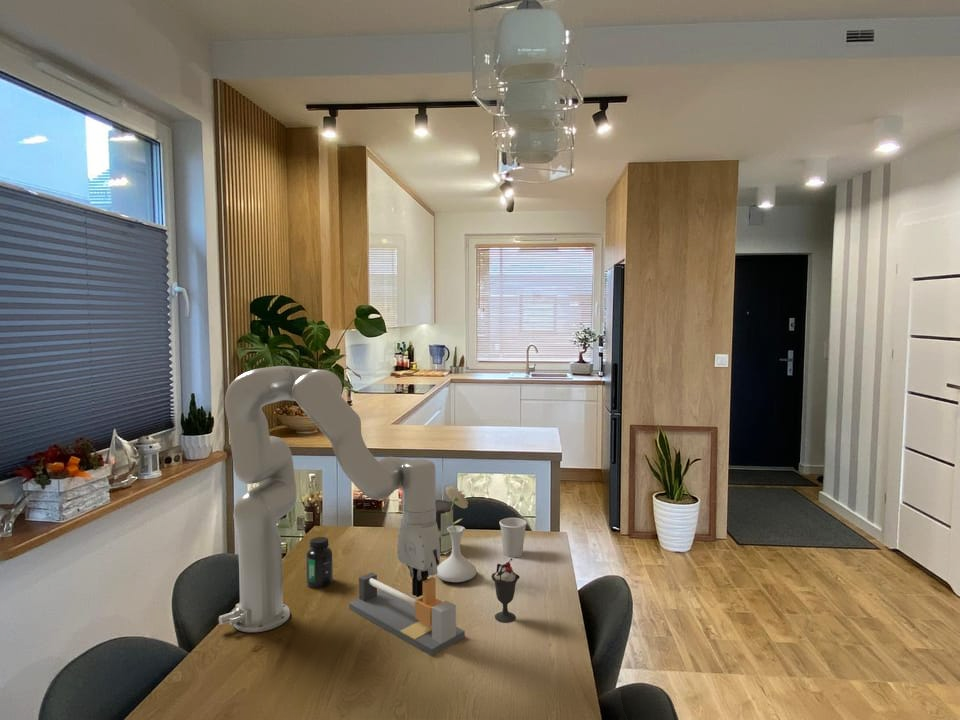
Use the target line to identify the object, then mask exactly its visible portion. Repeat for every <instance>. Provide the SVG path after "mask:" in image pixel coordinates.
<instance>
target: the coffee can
mask: <svg viewBox="0 0 960 720" xmlns="http://www.w3.org/2000/svg"><path fill="white" fill-rule="evenodd" d="M452 504H453V502H452V501H447V500H443V499H436V523H437V527H438V533H439V541H440V554H444V553H447V552H450V551H451V550H452V539H451V535H450V533H449V532H448V530H447V528H448V527H450V526H453V523H452V520H450V519H449V518H448V517H446V516H445V513H446V512H447V513H448V514H449V515H450V511H451V507H452ZM451 516H452V519H453V520H454V507H453V508H452V512H451ZM451 552H452V551H451ZM451 552H450V553H451ZM447 554H448V553H447ZM444 555H445V554H444Z"/></svg>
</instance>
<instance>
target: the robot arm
mask: <svg viewBox="0 0 960 720" xmlns="http://www.w3.org/2000/svg"><path fill="white" fill-rule="evenodd" d="M342 393H343V385H342V381H341V379H340V378H339V376H338V375H337V374H335V373H334V372H333V371H330V370H327V369H317V368H316V369H315V368H306V367H299V366H297V367H296V366H290V365H275V366H270V367H269V366H268V367H260V368H255V369H251V370H249V371H245V372H243V373H242V374H240V375H239V376H237V377H236V378H235V379H234V380H233V381H232V382H231V383H230V384H229V386H228V387H227V390H226V391H225V396H224V409H225V414H226V418H227V419H226V420H227V423H228V430H229V441H230V448H231V455H232V456H231V457H232V464H233V471H234V473H235V477H236V478H237V479H238V480H239V481H240V482H241V483H244V484H247V485H253V484H258V485H257V486H255V487H253V488H252V489H250V490H248V491H246V492H245V493H244V494H243V495H241V496H240V497H239V499H238V500H237V501H236V502H235V505H234V509H233V522H234V527H235V531H236V537H237V546H238V572H239V573H238V576H239V580H238V581H239V585H238V586H239V602H238V603H236V604H235V609H232V611H231V612H228V613H225V614H222V615H219V616H218V623H219V625H224V624H227V623H229V625H230V626H233V627H234V628H235V629H236V630H238V631H240V632H244V633H262V632H266V631H269V630H270V631H271V630H272V629H273V630H274V629H276V628H277V627H280V626H281V625H283V624H284V623H286V622H288V620H289V618H290V615H291V613H290V612H291V610H290V608H289V606H288V605H286V604H285V603H283V602H284V600H283V599H284V598H283V597H284V594H283V589H284V588H283V551H282V549H283V548H282V539H281V538H282V537H281V535H280V531H279V529H278V525H277V522H279V520H280V519H282V518H283V517H284V516H286V515H287V514H289V513H290V512H291V511H292V509H294V507H295V505H296V502H297V493H298V492H297V491H298V490H297V484H296V476H295V468H294V460H293V455H292V451H291V449H290V447H289V445H288V443H287V442H286V441H284V439H282V438H281V437H279V436H275V435H274V436H273V435H270V431H269V423H268V419H267V417H266V414H265V413H264V411H263V409H262V408H263V407H264V406H266V405H269V404H275V403H278V402H282V401H293V402H296V404H297V405H298V406H299V408H300V409H301V410H302V411H303V412H304V414H306V415H307V417H308V418H309V419H310V420H311V421H312V422H313V423H314V425H316V427H317V428H318V429H319V431H320V432H321V433H323V434H324V436H325V437H326V438H327V439H328V441H329V442H330V444H331V446H332V450H333V453H334V455H335V457H336V459H337V462H338V464H339V466H340V468H341V470H342V471H343V473H344V474H345V476H346V477H347V478H348V479H349V480H350V481H351V482H352V484H353V485H354V486H355V487H356V488H357V489H358V490H359V491H360V492H361V493H362V494H363V495H364V496H366V497H367V498H369V499H371V500H375V501H381V500H384V499H387V498H388V497H390V496H391V495H392V494H393V493H394V492H395V491H396V490H399V489H401V491H402V492H401V493H402V495H401V496H402V498H401V499H402V500H401V501H402V509H401V510H402V518H401V519H400V522H399V528H398V536H397V553H396V554H397V559H398V561H399V562H400V563H402V564H404V565H405V566H406V567H407V568H408V570H409V576H410V577H411V585H412V587H411V588H412V590H411V593H412V596H415V597H417V598H420V597H421V596H422V597H423V581H424V580H427V579H428V577H429V578H430V576H435V575H436V574H437V573H438V571H437V567H438V566H439V565H440V564H441V555H440V541H439V533H438V527H437V523H436V500H437V499H436V497H437V495H436V494H437V492H436V491H437V489H436V486H437V485H436V482H437V481H436V480H437V479H436V477H437V476H436V466H435V463H434V462H433V461H431V460H428V459H418V458H417V459H406V458H400V457H396V456H385V457H382V458H381V459H379V460H378V459H377V458H376V457H375V456H374V455H373V454H372V452H371V451H370V450H369V448H368V447H367V445H366V444H365V443H366V442H364V439H363V436H362V420H361V416H359V414H358V413H357V411H356V410H354V409H353V407H352V406H351V405H350V404H349V403H348V402H347V401H346V400H345V399H344V398H343V396H342Z"/></svg>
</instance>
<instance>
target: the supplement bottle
mask: <svg viewBox="0 0 960 720" xmlns="http://www.w3.org/2000/svg"><path fill="white" fill-rule="evenodd" d="M329 545H330V543H329V538H328V537H326V536H325V537H324V536H316V537H313V538H311V539H310V540H309V549H308V550H307V551H306V555H305V558H306V559H305V561H306V564H305V565H306V569H305V571H306V584H307V586H308V588H312V589H322V588H326V587H329V586H330V585H331V584H332V583H333V579H334V575H333V569H334V568H333V567H334V566H333V565H334V564H333V550H332V549H331V548H330V547H329Z"/></svg>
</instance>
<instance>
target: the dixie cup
mask: <svg viewBox="0 0 960 720" xmlns="http://www.w3.org/2000/svg"><path fill="white" fill-rule="evenodd" d="M527 524H528V523H527V521H526V520H525V519H523V518H519V517H507V518H503V519H501V520H499V527H500V533H501V534H500V535H501V542H502V550H503V555H504V556H505V557H506V556H507V558H510V557H511V558H512V559H516V557H517V558H520V557H522V556H523V551H524V544H525V542H524V541H525V536H526V535H525V534H526V527H527Z"/></svg>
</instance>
